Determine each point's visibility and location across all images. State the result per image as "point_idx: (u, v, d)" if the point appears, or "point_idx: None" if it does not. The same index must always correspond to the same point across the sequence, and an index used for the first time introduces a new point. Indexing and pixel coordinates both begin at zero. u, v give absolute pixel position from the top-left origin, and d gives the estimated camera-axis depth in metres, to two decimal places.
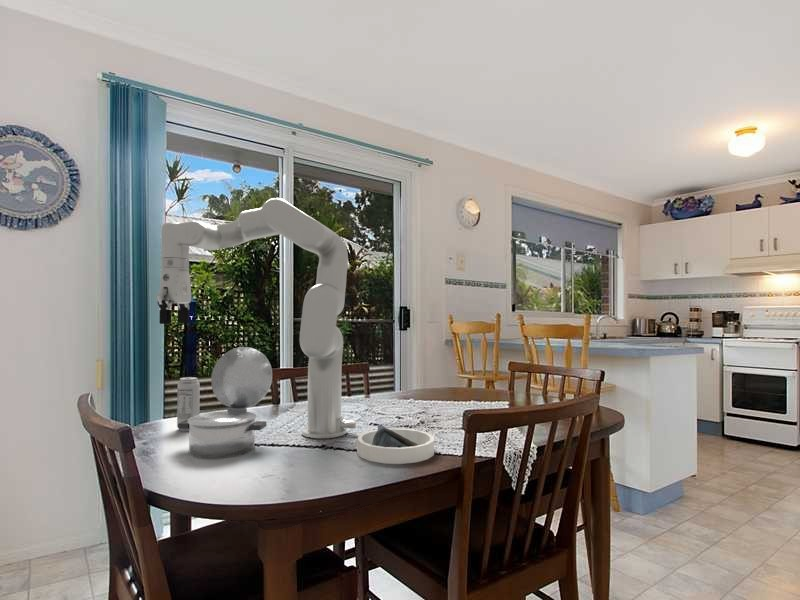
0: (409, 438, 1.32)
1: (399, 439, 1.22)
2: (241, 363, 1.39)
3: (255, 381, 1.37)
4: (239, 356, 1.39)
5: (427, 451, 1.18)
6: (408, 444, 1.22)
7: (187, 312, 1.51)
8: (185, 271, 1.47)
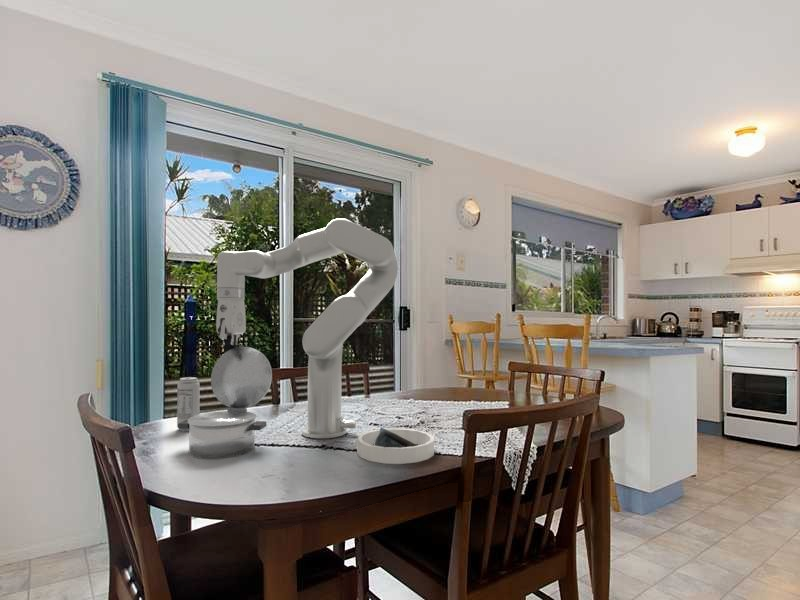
0: (409, 438, 1.32)
1: (401, 442, 1.20)
2: (240, 363, 1.38)
3: (255, 381, 1.37)
4: (238, 356, 1.39)
5: (427, 451, 1.18)
6: (410, 446, 1.19)
7: None
8: (241, 301, 1.43)
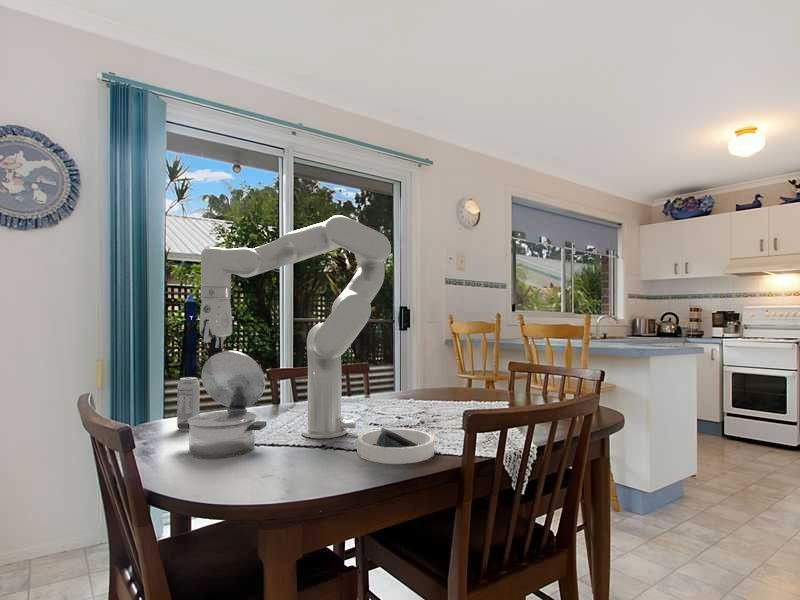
0: (409, 438, 1.32)
1: (402, 442, 1.20)
2: (229, 368, 1.31)
3: (248, 384, 1.32)
4: (224, 361, 1.30)
5: (427, 451, 1.18)
6: None
7: (221, 350, 1.33)
8: (226, 301, 1.34)
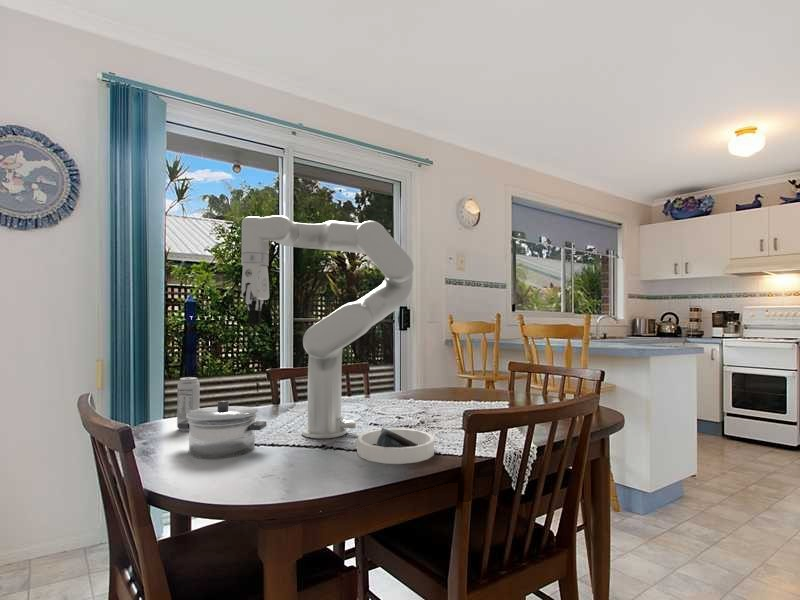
0: (409, 438, 1.32)
1: (402, 442, 1.20)
2: None
3: None
4: None
5: (427, 451, 1.18)
6: None
7: (260, 313, 1.42)
8: (265, 267, 1.43)
